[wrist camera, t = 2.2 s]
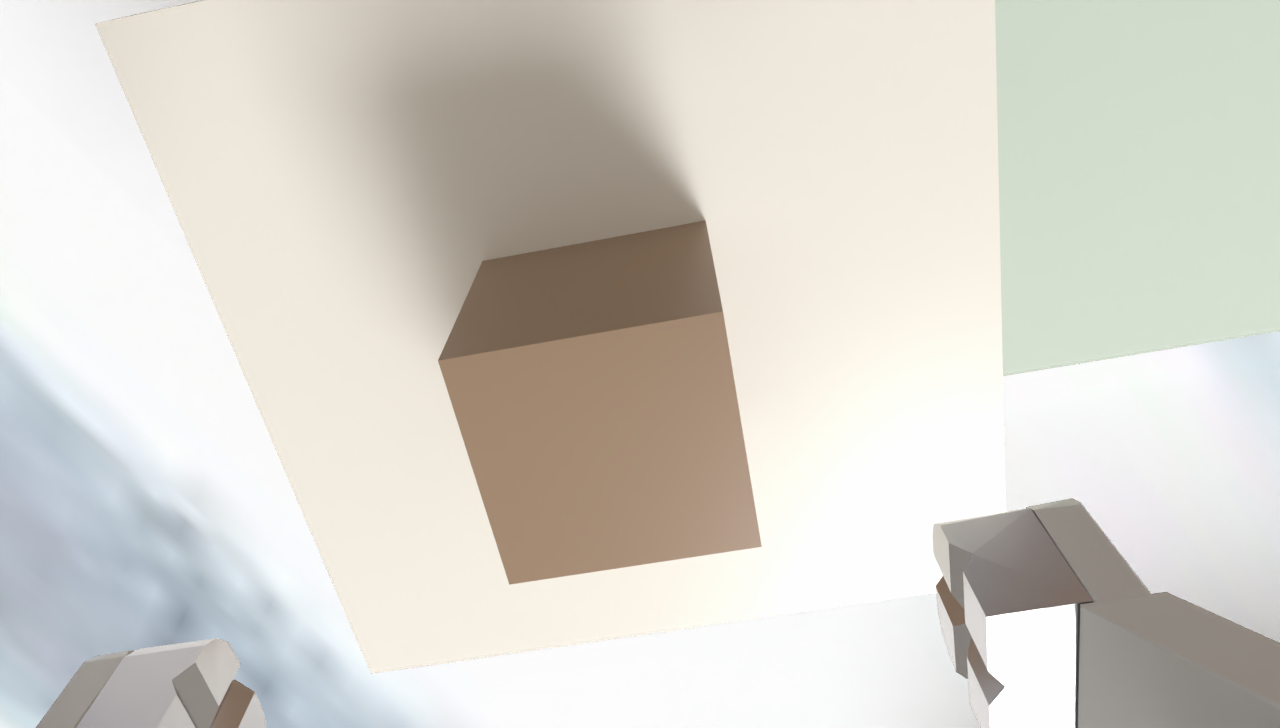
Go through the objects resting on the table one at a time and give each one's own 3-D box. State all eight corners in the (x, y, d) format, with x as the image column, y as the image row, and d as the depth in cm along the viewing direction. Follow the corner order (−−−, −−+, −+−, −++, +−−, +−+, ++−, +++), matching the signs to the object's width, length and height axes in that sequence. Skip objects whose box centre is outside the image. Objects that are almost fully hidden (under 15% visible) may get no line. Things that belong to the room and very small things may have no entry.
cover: (969, -163, 15) (1115, -190, 10) (991, 552, 21) (1087, 733, 16) (126, 16, 16) (-80, 63, 11) (382, 641, 22) (314, 833, 17)
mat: (1519, -376, 23) (1554, -387, 22) (1398, 296, 31) (1420, 308, 30) (863, -231, 24) (871, -235, 23) (906, 376, 32) (914, 390, 31)
